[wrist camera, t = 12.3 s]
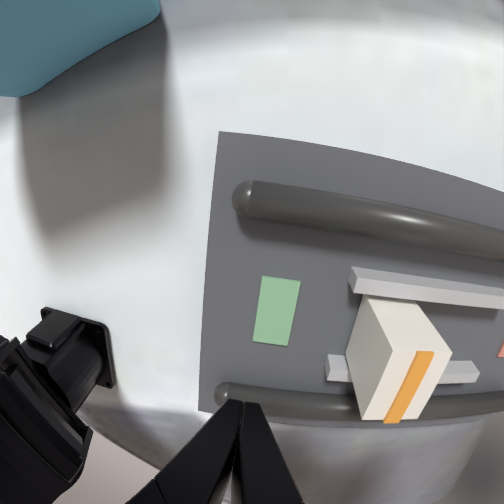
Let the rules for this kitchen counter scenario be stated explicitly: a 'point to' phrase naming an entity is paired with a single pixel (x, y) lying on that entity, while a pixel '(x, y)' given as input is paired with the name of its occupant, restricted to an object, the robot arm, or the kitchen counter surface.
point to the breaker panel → (344, 278)
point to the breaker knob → (394, 358)
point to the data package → (60, 36)
